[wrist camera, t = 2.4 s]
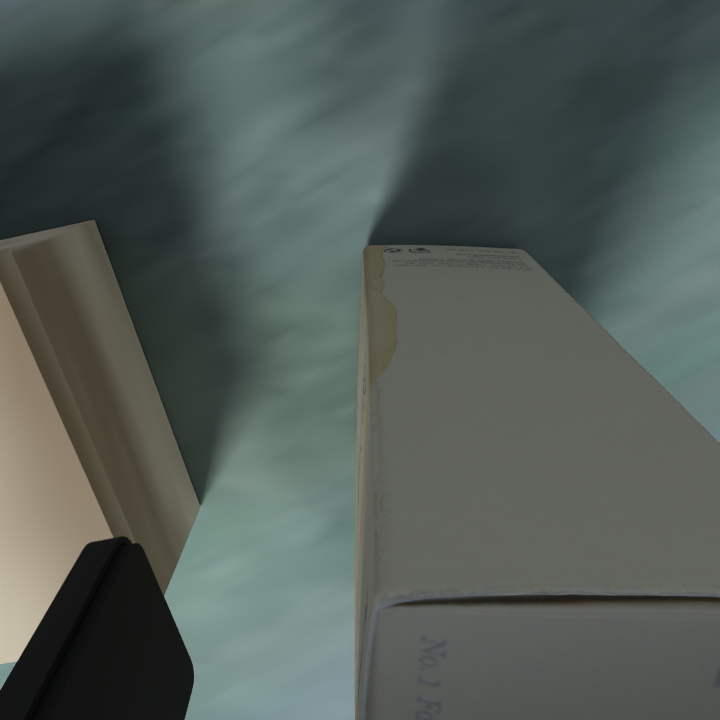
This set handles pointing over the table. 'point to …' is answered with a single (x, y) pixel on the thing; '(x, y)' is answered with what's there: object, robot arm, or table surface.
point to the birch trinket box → (76, 427)
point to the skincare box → (523, 506)
